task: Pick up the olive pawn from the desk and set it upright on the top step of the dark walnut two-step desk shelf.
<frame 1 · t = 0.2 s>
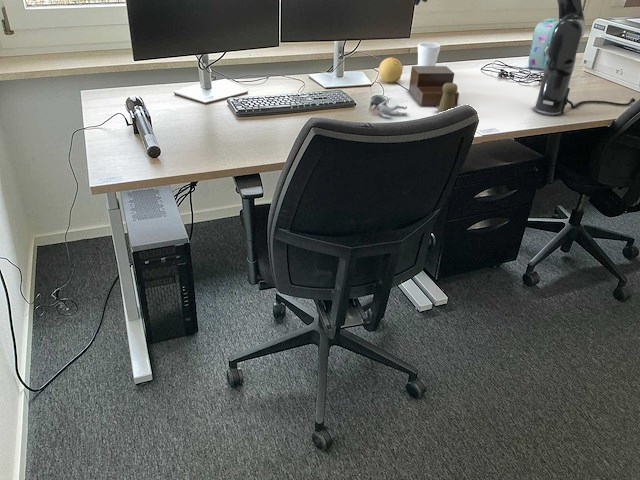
hand: (419, 2, 210), 31 cm above the table, tool tilted 20°, fingers open, 8 cm apart
step shelf: (432, 98, 211), on the table
stress ball: (389, 82, 227), on the table
foam cup: (424, 76, 237), on the table
lunch box: (542, 66, 257), on the table
soldier figure: (389, 115, 194), on the table
olive pawn: (445, 114, 197), on the table
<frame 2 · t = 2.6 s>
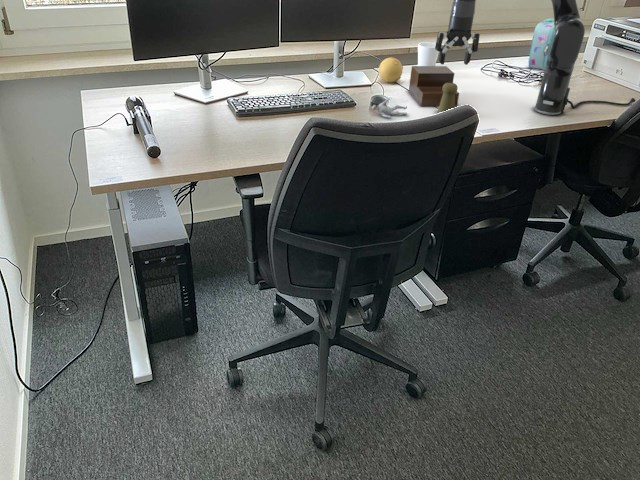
hand: (453, 63, 187), 18 cm above the table, tool pointing down, fingers open, 8 cm apart
nothing on the table moved.
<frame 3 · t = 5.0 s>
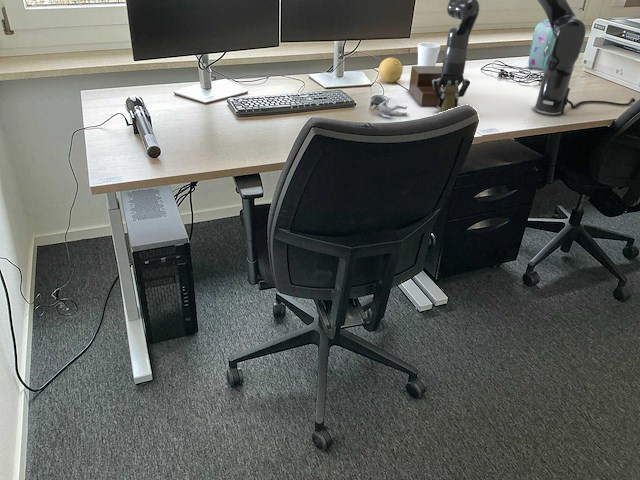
hand: (446, 107, 195), 2 cm above the table, tool pointing down, fingers closed on olive pawn, 3 cm apart
olive pawn: (445, 114, 197), on the table, touching gripper
everything else where it was.
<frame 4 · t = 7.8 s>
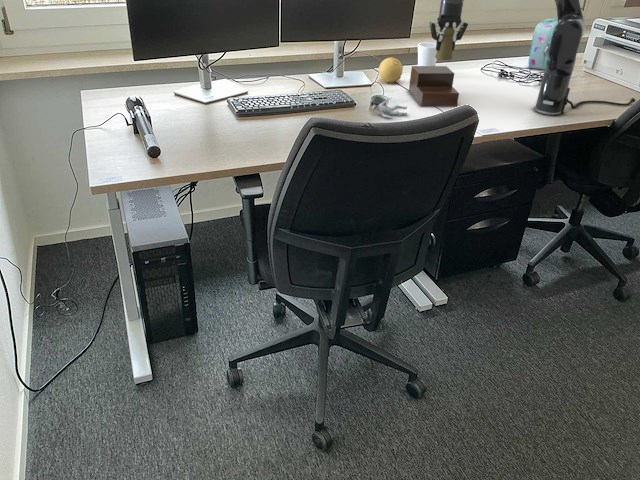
hand: (444, 51, 195), 19 cm above the table, tool pointing down, fingers closed on olive pawn, 3 cm apart
olive pawn: (443, 58, 196), point 17 cm above the table, touching gripper
everything else where it was.
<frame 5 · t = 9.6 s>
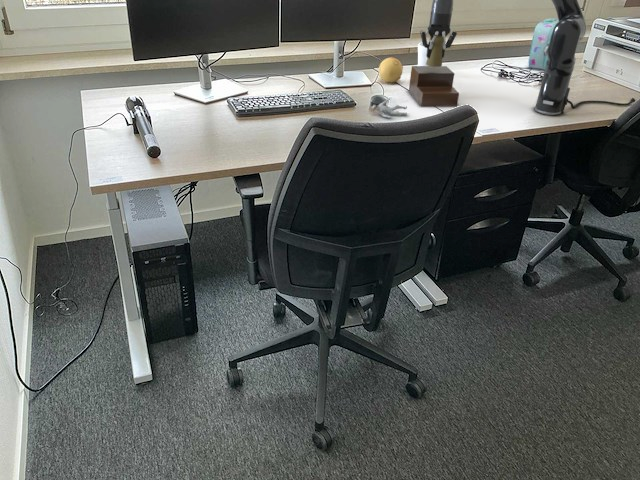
hand: (434, 58, 206), 14 cm above the table, tool pointing down, fingers closed on olive pawn, 3 cm apart
olive pawn: (433, 65, 208), point 12 cm above the table, touching gripper
everything else where it was.
when the fingers open (12 cm above the table, at t = 10.6 s): olive pawn stays where it is, resting on step shelf.
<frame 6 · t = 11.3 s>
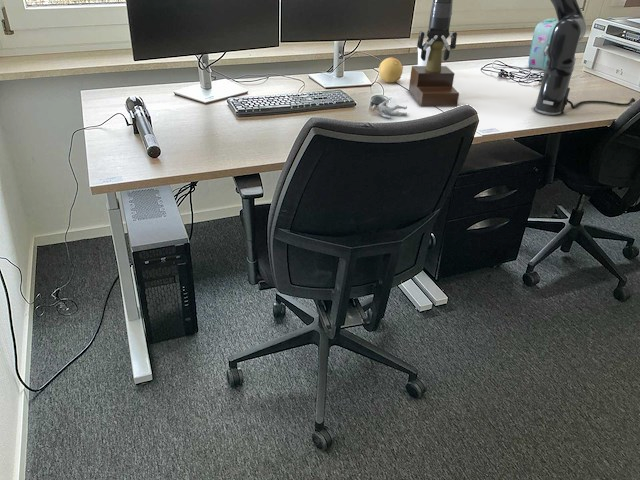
hand: (434, 60, 207), 14 cm above the table, tool pointing down, fingers open, 8 cm apart
olive pawn: (433, 70, 209), point 10 cm above the table, touching step shelf
everything else where it was.
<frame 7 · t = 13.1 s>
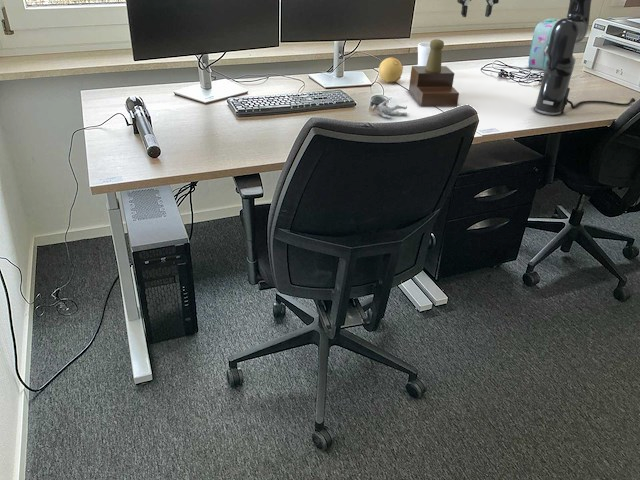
hand: (475, 16, 193), 31 cm above the table, tool pointing down, fingers open, 8 cm apart
nothing on the table moved.
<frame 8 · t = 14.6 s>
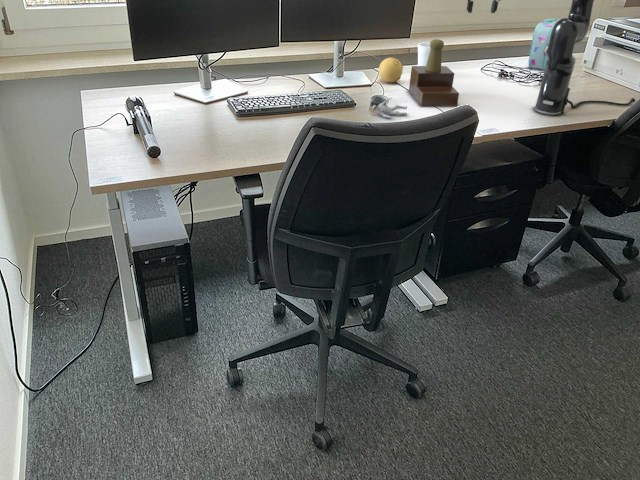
hand: (481, 12, 192), 32 cm above the table, tool pointing down, fingers open, 8 cm apart
nothing on the table moved.
at the end: olive pawn inside the target area on the step shelf (0.2 cm from its centre), point 9.8 cm above the step shelf's base; olive pawn tilted 0°; the gripper is holding nothing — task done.
